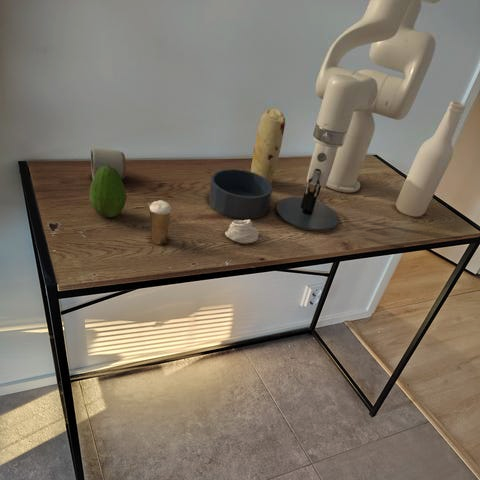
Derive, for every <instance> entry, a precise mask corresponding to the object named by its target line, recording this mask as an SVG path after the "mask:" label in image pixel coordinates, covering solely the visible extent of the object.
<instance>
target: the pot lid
mask: <svg viewBox="0 0 480 480" xmlns="http://www.w3.org/2000/svg"><path fill="white" fill-rule="evenodd" d="M317 199H318V198H317ZM317 199H316V202H315V205H314V208H313V211H308V210H305V209H302V208H301V203H302V200H303V197H302V196H290V197H289V196H288V197H284V198H281V199H280V200H279V201H278V202H277V203H276V206H275V210H276V211H275V212H276V213H277V215H278V217H279V218H281V219H282V220H283V221H285V222H286V223H288V224H290V225H292V226H294V227H296V228H300V229H303V230H307V231H312V232H313V231H315V232H324V231H328V230H331V229H333V228H335V227H336V226H337V224H338V222H339V217H338V215H337V213H336V212H335V211H334V210H333V209H332V208H331V207H329V206H328V205H327V204H324V203H323V202H320V201H319V200H317Z"/></svg>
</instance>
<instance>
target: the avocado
mask: <svg viewBox="0 0 480 480" xmlns="http://www.w3.org/2000/svg"><path fill="white" fill-rule="evenodd" d="M127 200H128V199H127V192H126V188H125V184H124V182H123V179H122V180H121V177H120V175H119V173H118V172H117V171H116V169H114V168H113V167H111V166H109V165H104V166H101V167H100V168H99V169H98V170H97V172H96V174H95V176H94V178H93V177H92V181H91V184H90V187H89V201H90V202H89V203H90V204H91V207H92V209H93V210H94V211H95V212H96V213H97V214H99V215H100V216H102V217H104V218H105V217H106V218H114V217H116V216H118V215H119V214H121V212H122V211H123V209H124V207H125V205H126V202H127Z"/></svg>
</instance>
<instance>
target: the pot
mask: <svg viewBox="0 0 480 480" xmlns="http://www.w3.org/2000/svg"><path fill="white" fill-rule="evenodd" d="M209 183H210V184H209V192H208V202H209V205H210V206H211V208H213V209H214V210H215V211H216V212H218V213H220V214H222V215H224V216H227V217H230V218H233V219H240V220H253V219H257V218H260V217H262V216H265V215H266V213H267V212H268V210H269V207H270V203H271V199H272V194H273V185H272V182H271V183H270V182H269V181H268V180H267V179H266V178H264V177H262V176H260V175H258V174H256V173H253V172H251V170H250V171H249V170H245V169H238V168H228V169H226V168H225V169H220V170H217V171H215V172H214V173H213V174H212V175H211V177H210V182H209Z"/></svg>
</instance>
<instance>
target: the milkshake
mask: <svg viewBox="0 0 480 480" xmlns="http://www.w3.org/2000/svg"><path fill="white" fill-rule="evenodd" d="M145 200H146V201H147V204H148V206H149V217H150V233H151V234H150V235H151V243H154V244H155V245H163V244H166V243H167V240H168V234H169V227H170V219H171V214H172V206H171V205H170V204H169V203H168V202H167V201H165V200H162V199H160V200H156V201H155V200H154V201H153V202H151V203H150V202H149V200H148V197H147V196H145Z"/></svg>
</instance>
